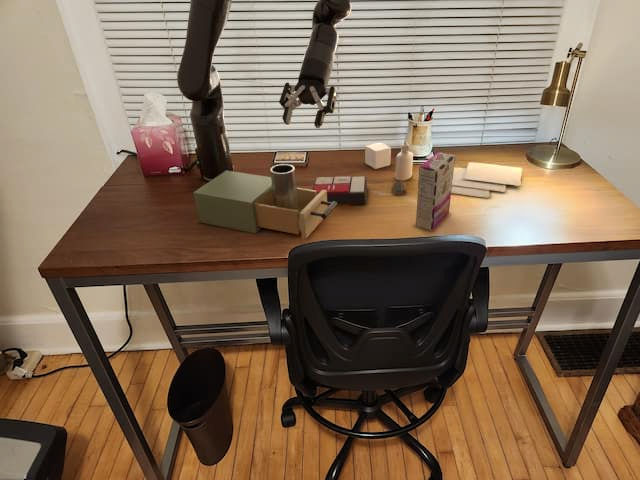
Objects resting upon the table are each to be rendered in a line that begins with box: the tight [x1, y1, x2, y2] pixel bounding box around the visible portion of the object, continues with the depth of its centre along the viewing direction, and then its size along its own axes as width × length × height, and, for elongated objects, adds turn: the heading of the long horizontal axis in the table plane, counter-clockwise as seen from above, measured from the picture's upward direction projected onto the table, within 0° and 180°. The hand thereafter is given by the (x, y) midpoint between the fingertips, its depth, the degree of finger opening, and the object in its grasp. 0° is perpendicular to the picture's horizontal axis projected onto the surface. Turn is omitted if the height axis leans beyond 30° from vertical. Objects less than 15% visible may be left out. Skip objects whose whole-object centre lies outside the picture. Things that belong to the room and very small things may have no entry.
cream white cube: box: [364, 141, 392, 170], centre depth 143 cm, size 6×6×6 cm
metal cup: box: [269, 163, 299, 218], centre depth 109 cm, size 6×6×13 cm
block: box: [392, 180, 407, 196], centre depth 128 cm, size 4×6×2 cm, turn 2°
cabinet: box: [192, 170, 272, 234], centre depth 115 cm, size 17×15×9 cm
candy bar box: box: [415, 151, 456, 232], centre depth 110 cm, size 11×5×16 cm, turn 148°
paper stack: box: [451, 161, 523, 199], centre depth 134 cm, size 23×25×1 cm
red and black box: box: [312, 175, 368, 206], centre depth 125 cm, size 11×4×15 cm
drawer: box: [253, 187, 338, 239], centre depth 110 cm, size 20×13×7 cm
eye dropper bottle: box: [394, 139, 414, 182], centre depth 132 cm, size 4×6×12 cm
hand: (301, 124), depth 109 cm, fingers open, 8 cm apart
